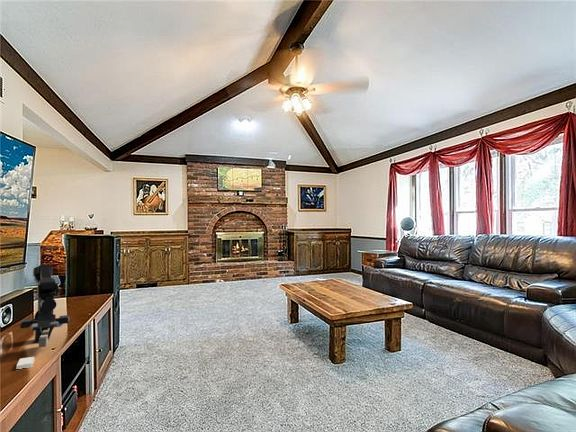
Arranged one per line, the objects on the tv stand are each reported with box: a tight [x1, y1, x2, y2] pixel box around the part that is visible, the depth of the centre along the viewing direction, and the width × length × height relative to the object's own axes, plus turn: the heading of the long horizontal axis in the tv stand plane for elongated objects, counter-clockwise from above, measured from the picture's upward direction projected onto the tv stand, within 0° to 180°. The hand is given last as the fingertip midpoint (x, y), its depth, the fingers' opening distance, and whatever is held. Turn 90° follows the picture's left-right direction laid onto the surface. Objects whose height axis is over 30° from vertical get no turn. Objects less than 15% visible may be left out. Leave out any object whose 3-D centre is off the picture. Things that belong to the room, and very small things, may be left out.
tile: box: [15, 356, 35, 370], centre depth 139 cm, size 2×5×8 cm
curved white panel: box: [38, 330, 50, 349], centre depth 155 cm, size 14×3×4 cm, turn 31°
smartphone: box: [54, 322, 64, 328], centre depth 196 cm, size 7×1×15 cm
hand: (44, 339), depth 157 cm, fingers closed on curved white panel, 3 cm apart
